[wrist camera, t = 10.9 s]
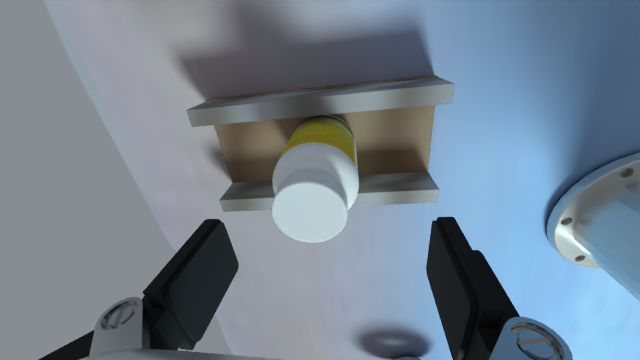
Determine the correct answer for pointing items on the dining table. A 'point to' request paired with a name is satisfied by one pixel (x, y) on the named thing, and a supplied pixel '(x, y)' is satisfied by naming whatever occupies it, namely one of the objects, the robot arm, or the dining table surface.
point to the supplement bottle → (316, 180)
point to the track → (356, 111)
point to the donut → (407, 358)
